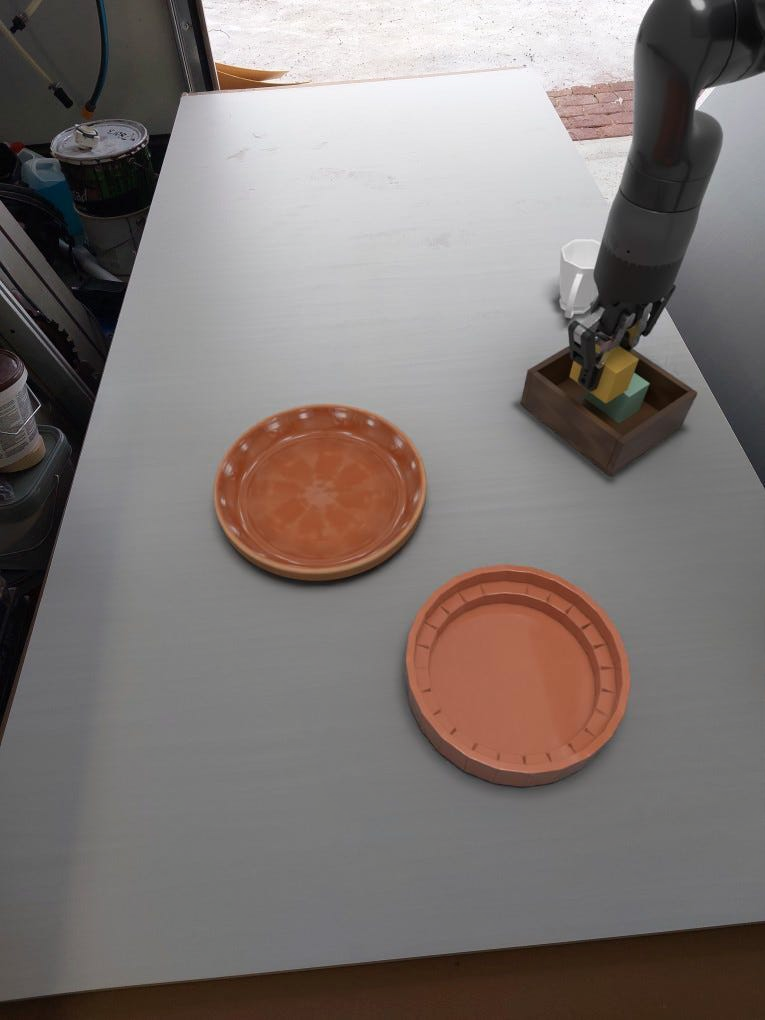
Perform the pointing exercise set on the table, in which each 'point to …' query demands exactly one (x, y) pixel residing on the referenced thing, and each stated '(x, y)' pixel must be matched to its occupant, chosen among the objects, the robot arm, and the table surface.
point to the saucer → (320, 492)
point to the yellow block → (611, 374)
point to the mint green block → (623, 400)
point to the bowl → (516, 674)
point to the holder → (592, 428)
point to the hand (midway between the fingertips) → (600, 377)
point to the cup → (578, 275)
